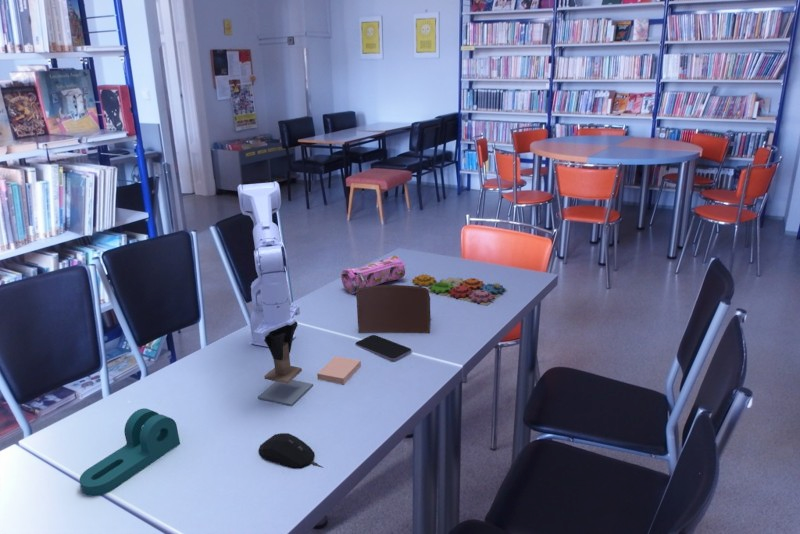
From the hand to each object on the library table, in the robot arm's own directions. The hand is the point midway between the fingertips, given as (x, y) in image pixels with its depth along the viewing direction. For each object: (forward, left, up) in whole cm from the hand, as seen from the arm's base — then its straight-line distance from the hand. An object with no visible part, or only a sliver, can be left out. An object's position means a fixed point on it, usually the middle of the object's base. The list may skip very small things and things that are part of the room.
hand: (281, 355), depth 130 cm
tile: (+4, +12, -9) cm, 15 cm away
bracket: (-14, -32, -10) cm, 36 cm away
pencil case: (-9, +66, -10) cm, 68 cm away
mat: (0, 0, -9) cm, 9 cm away
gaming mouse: (+14, -19, -10) cm, 26 cm away
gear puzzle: (+17, +73, -10) cm, 75 cm away
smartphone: (+12, +27, -10) cm, 31 cm away
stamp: (0, 0, -5) cm, 5 cm away
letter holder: (+10, +41, -10) cm, 43 cm away
